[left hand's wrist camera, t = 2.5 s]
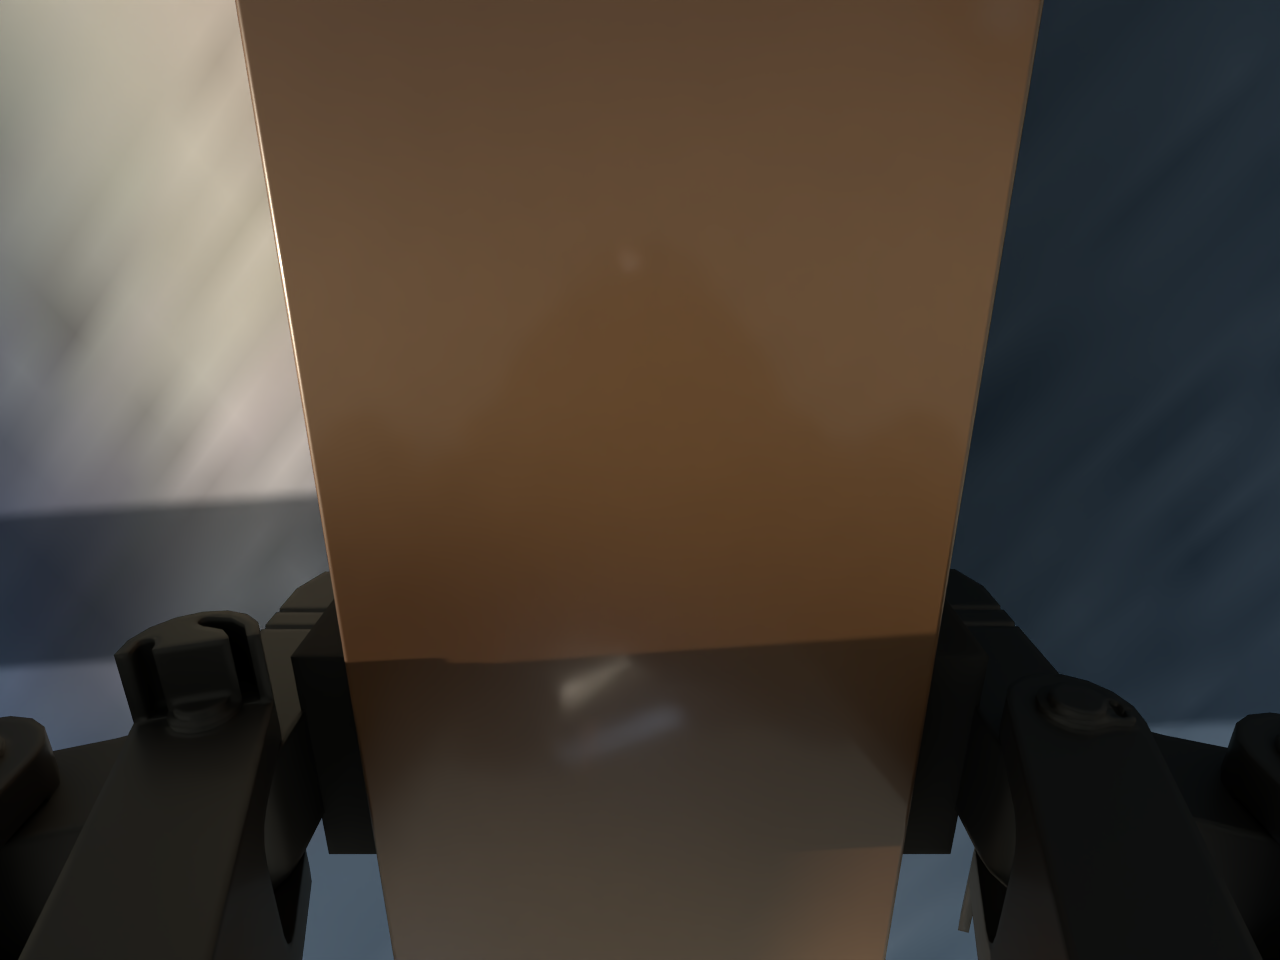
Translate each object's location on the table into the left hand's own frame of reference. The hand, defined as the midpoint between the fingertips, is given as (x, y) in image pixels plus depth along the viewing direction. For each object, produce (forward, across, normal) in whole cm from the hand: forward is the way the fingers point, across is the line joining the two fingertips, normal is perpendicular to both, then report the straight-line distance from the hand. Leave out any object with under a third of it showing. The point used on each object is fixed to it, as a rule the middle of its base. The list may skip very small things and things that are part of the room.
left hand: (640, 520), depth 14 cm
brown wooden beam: (+1, 0, -23) cm, 23 cm away
